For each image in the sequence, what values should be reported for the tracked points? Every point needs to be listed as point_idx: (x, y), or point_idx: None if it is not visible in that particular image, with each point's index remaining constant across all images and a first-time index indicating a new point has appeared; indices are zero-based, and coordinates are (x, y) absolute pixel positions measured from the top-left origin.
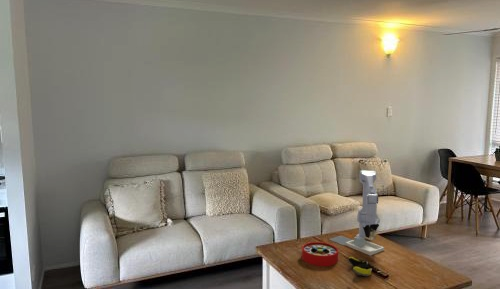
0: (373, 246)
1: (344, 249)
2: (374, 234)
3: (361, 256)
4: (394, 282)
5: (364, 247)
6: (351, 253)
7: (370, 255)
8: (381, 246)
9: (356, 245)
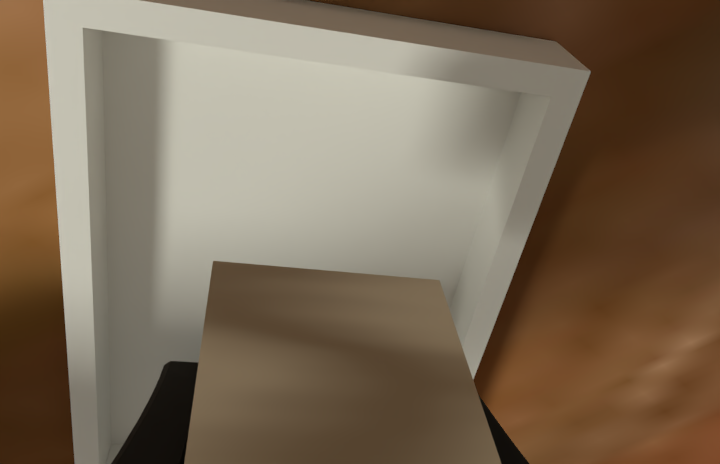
0: (103, 215)
1: (529, 413)
2: (278, 379)
3: (642, 149)
4: None
5: None
6: (611, 299)
7: (556, 46)
8: (56, 61)
9: None
